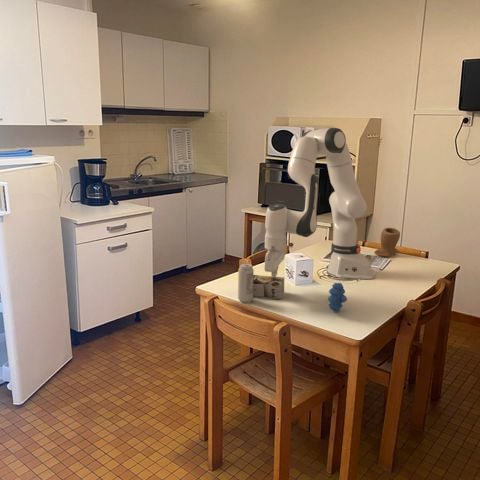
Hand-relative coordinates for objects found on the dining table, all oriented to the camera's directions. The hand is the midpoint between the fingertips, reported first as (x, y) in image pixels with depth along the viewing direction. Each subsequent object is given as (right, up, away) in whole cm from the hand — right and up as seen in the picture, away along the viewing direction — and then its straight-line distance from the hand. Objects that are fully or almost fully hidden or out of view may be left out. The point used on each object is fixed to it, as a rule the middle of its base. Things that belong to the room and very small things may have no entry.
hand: (274, 275), depth 201 cm
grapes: (+23, -13, -15) cm, 31 cm away
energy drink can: (-12, -10, -5) cm, 16 cm away
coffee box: (+4, -5, 0) cm, 6 cm away
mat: (-5, -7, +4) cm, 10 cm away
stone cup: (+66, +7, +62) cm, 91 cm away
